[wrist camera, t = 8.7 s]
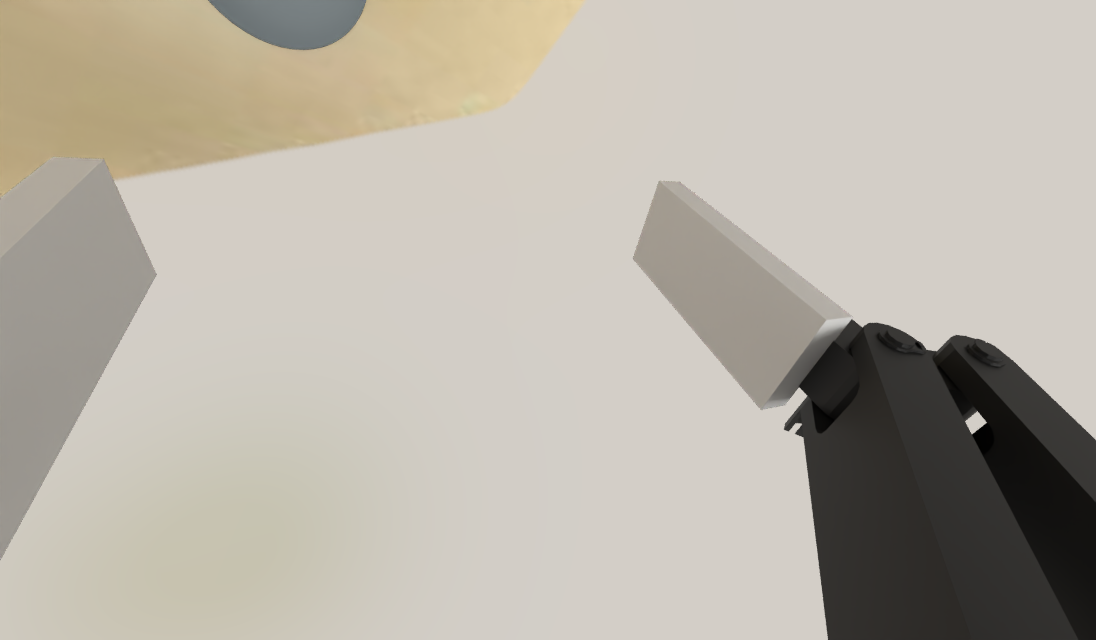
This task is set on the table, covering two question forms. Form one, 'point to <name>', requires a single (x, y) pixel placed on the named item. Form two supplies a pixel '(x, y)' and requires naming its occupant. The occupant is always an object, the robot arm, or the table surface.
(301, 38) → the slate coaster
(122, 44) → the table surface
